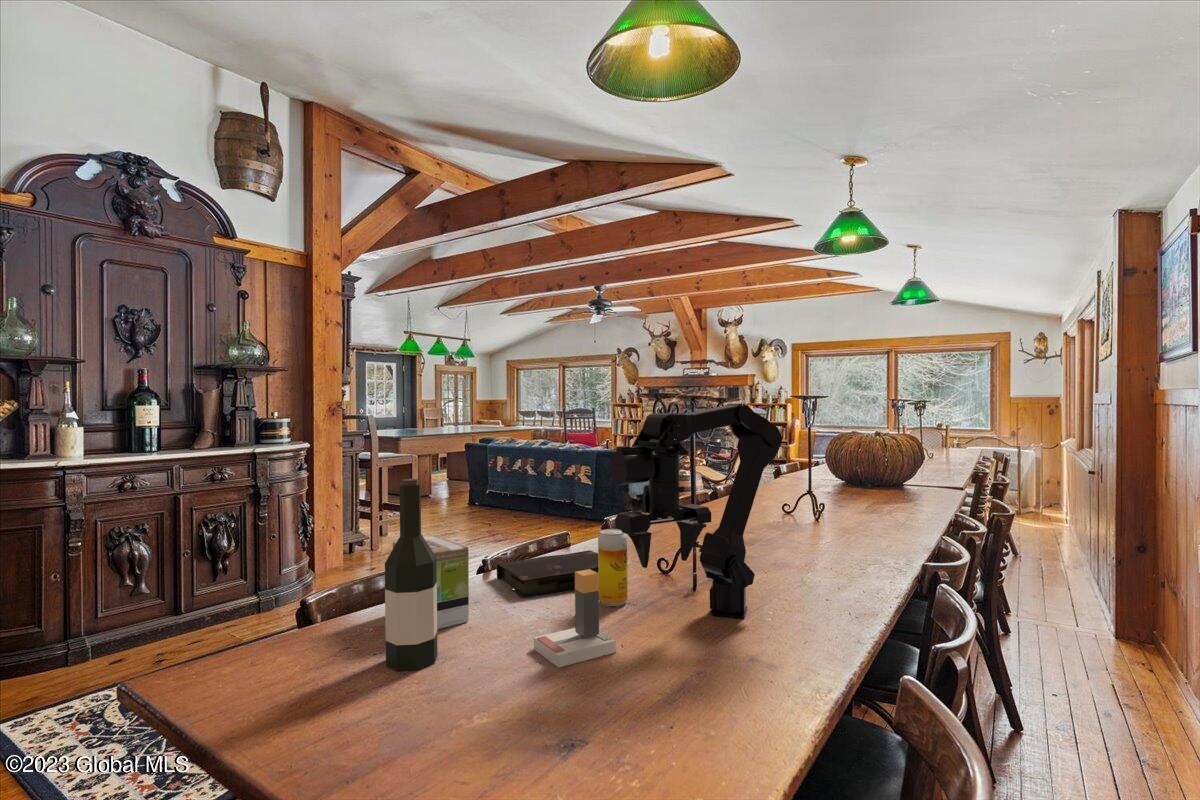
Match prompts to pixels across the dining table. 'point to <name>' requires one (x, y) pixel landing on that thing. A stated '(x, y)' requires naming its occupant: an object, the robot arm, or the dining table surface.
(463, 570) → the tea box
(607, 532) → the beer can
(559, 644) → the plate
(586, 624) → the lever
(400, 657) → the wine bottle
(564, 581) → the diary
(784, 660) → the dining table surface
